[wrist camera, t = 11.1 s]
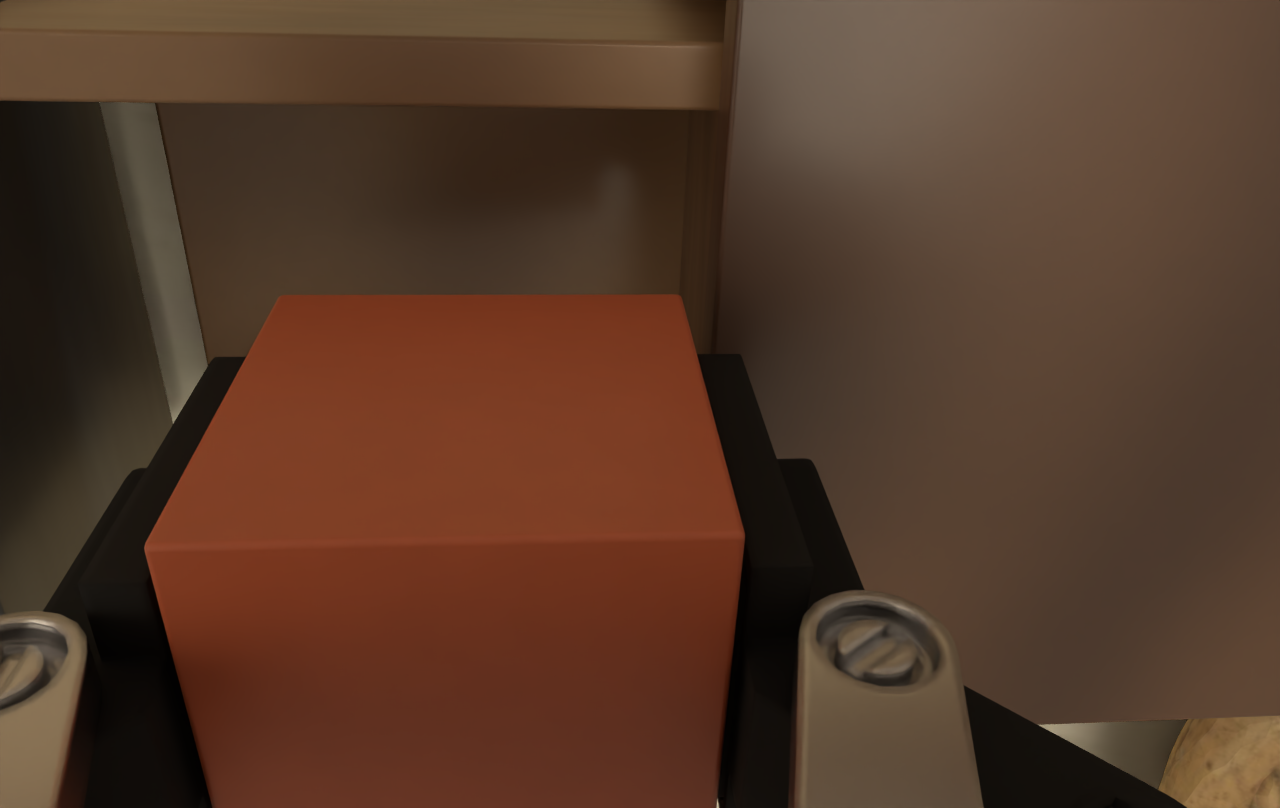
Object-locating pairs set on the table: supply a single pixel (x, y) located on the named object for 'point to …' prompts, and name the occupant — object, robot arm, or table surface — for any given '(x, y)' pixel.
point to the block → (457, 559)
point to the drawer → (318, 193)
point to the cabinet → (1024, 325)
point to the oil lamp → (1225, 763)
